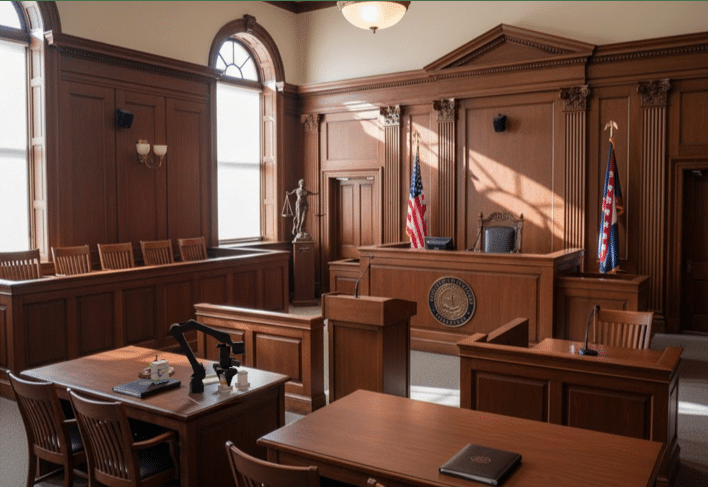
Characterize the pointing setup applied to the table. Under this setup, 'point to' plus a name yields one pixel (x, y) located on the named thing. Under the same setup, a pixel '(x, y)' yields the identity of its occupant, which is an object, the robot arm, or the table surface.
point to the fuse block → (233, 387)
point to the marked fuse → (224, 383)
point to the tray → (210, 379)
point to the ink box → (159, 370)
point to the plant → (147, 371)
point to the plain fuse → (242, 378)
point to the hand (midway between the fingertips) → (225, 384)
